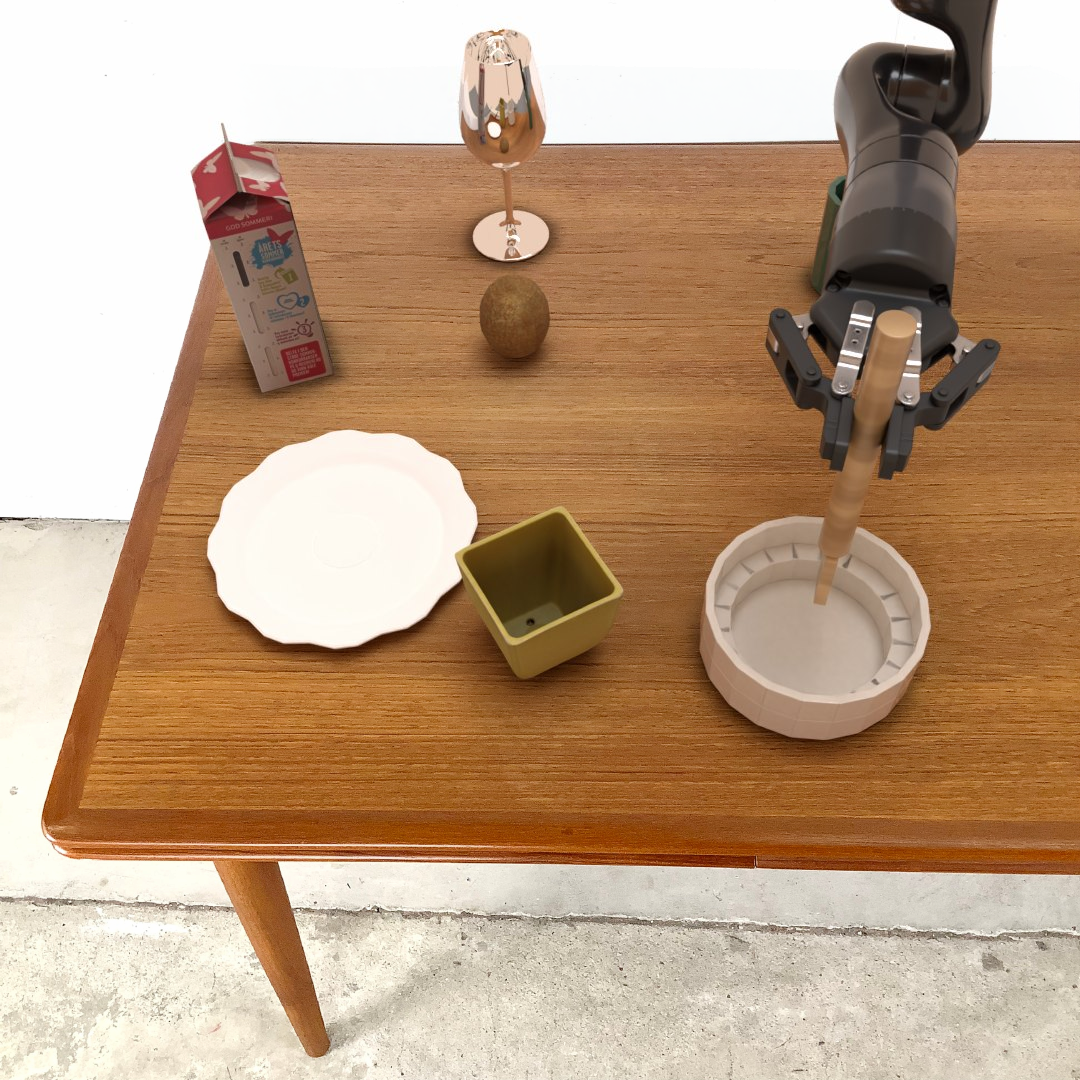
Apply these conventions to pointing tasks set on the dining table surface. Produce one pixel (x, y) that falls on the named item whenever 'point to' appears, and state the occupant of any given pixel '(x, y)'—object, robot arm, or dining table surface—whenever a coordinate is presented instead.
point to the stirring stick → (864, 439)
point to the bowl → (811, 630)
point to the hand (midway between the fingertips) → (863, 464)
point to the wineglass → (503, 132)
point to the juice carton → (262, 263)
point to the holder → (826, 231)
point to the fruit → (514, 316)
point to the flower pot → (541, 591)
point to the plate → (341, 538)
